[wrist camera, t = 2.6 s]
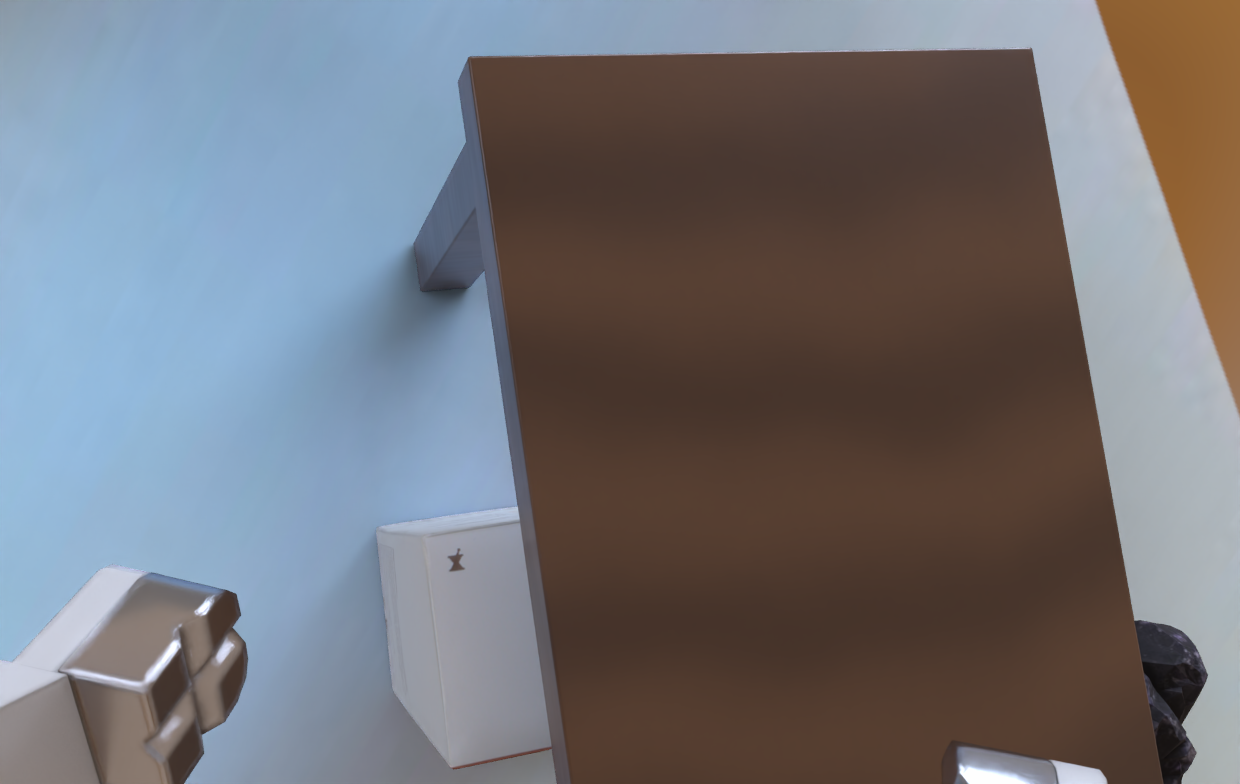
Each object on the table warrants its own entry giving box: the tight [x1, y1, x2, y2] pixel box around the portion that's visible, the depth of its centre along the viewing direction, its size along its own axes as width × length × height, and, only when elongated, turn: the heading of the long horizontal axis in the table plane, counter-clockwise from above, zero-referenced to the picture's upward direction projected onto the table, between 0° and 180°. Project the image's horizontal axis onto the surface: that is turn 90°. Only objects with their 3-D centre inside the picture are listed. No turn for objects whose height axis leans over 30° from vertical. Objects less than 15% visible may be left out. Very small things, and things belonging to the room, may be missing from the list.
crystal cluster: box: [1134, 620, 1208, 784], centre depth 43 cm, size 13×14×10 cm
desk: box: [414, 48, 1163, 784], centre depth 35 cm, size 28×16×18 cm, turn 9°
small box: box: [376, 506, 552, 769], centre depth 35 cm, size 8×6×13 cm
